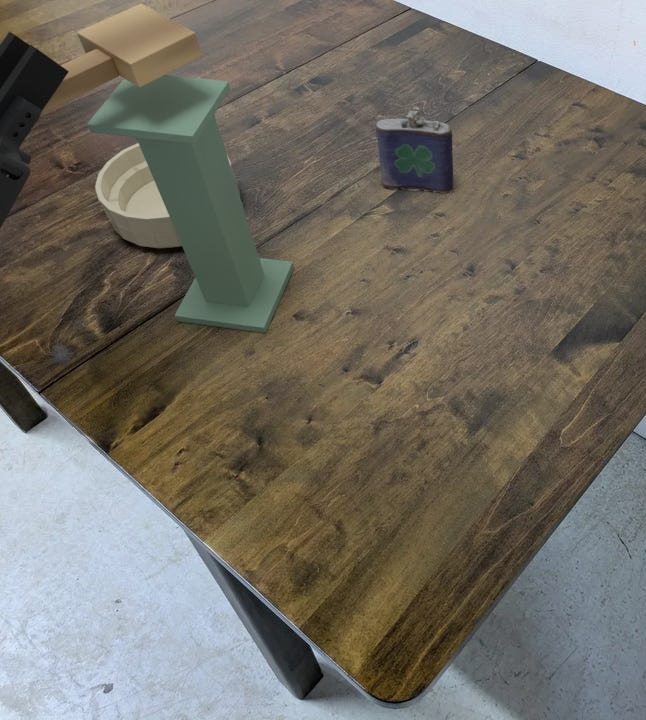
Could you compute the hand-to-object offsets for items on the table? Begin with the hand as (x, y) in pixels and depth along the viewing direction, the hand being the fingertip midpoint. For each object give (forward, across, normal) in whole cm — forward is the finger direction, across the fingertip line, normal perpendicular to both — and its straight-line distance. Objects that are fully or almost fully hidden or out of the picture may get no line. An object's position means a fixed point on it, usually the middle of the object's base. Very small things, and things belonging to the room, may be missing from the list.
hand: (39, 52), depth 52 cm
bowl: (-5, -16, -34) cm, 38 cm away
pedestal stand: (-9, 0, -32) cm, 33 cm away
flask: (+14, +3, -45) cm, 48 cm away
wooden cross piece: (-1, 0, -4) cm, 4 cm away
